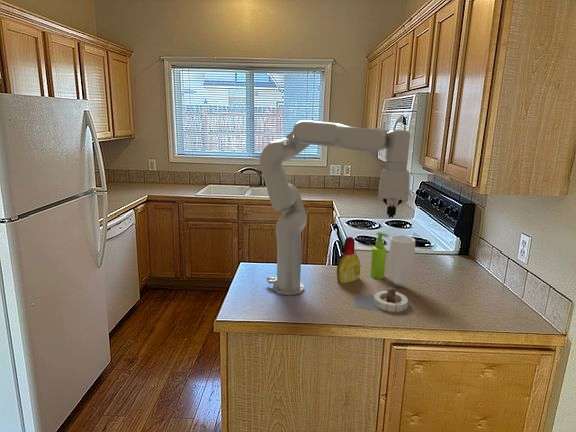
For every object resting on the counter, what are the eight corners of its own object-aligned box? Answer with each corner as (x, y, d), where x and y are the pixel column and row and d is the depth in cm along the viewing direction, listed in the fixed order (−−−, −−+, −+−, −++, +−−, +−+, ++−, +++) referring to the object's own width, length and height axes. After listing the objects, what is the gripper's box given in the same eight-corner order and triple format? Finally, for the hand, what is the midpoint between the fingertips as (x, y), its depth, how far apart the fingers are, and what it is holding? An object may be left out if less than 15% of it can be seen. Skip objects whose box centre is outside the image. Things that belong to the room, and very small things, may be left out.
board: (354, 310, 146) (354, 307, 146) (355, 295, 158) (355, 293, 157) (411, 316, 142) (411, 313, 142) (408, 301, 154) (408, 298, 154)
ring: (374, 309, 145) (374, 303, 144) (373, 295, 156) (374, 289, 155) (408, 313, 142) (409, 306, 142) (405, 298, 154) (406, 292, 153)
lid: (382, 307, 146) (383, 292, 145) (380, 299, 153) (381, 284, 151) (400, 308, 146) (402, 293, 144) (397, 300, 152) (399, 286, 150)
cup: (393, 295, 159) (398, 243, 153) (380, 284, 168) (384, 235, 163) (416, 292, 161) (421, 241, 156) (402, 282, 171) (407, 234, 166)
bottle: (341, 287, 165) (344, 241, 160) (331, 282, 170) (333, 237, 165) (362, 281, 171) (365, 236, 166) (352, 276, 176) (355, 232, 171)
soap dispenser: (380, 280, 172) (383, 236, 167) (367, 275, 178) (370, 232, 172) (388, 277, 176) (392, 233, 171) (376, 272, 181) (379, 230, 176)
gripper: (374, 166, 137) (369, 217, 142) (419, 168, 134) (413, 221, 139) (374, 163, 144) (369, 212, 149) (417, 166, 142) (411, 216, 146)
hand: (390, 216), depth 144 cm, fingers closed
